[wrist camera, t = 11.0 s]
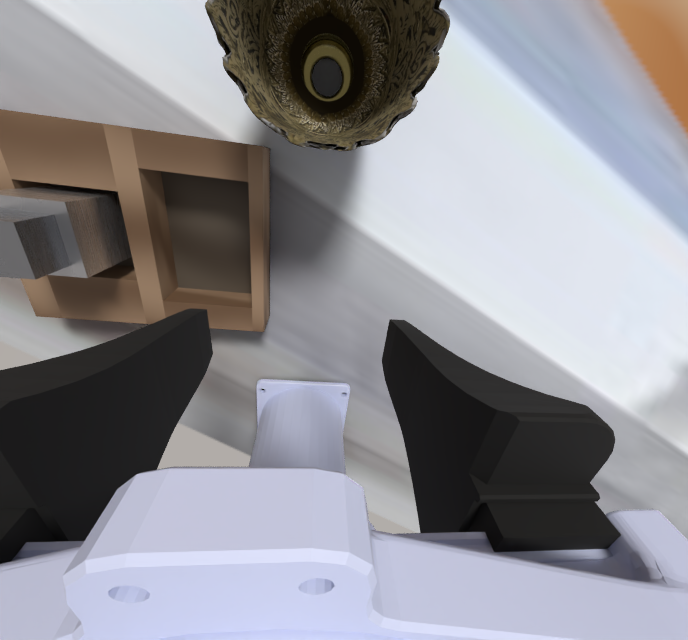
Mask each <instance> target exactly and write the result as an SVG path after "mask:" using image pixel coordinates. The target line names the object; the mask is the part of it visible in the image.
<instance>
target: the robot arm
mask: <svg viewBox="0 0 688 640" xmlns="http://www.w3.org/2000/svg"><path fill="white" fill-rule="evenodd" d="M212 355H213V351H212V343H211V336H210V329H209V321H208V314H207V309H193V308H190V309H186V310H183V311H181V312H178V313H176V314H173V315H171V316H169V317H167V318H164V319H162V320H160V321H157V322H155V323H153V324H151V325H148V326H146V327H144V328H141V329H139V330H136V331H134V332H131V333H129V334H126V335H124V336H121V337H119V338H117V339H114V340H111V341H108V342H106V343H103V344H100V345H97V346H94V347H91V348H87V349H84V350H81V351H78V352H74V353H71V354H67V355H63V356H59V357H56V358H52V359H48V360H44V361H40V362H36V363H33V364H28V365H24V366H19V367H14V368H9V369H5V370H0V640H688V540H687V539H686V538H685V537H684V536H683V535H682V534H681V533H680V532H679V531H678V530H677V528H676V527H675V526H674V525H673V524H672V523H671V522H670V521H669V520H668V519H667V518H666V517H665V516H664V515H663V514H662V513H661V512H660V511H658V510H654V509H639V510H616V511H612V512H610V513H608V514H606V515H605V514H604V513H603V512H602V510H601V509H600V508H599V507H598V505H597V504H596V503H595V502H594V501H598V500H599V499H600V496H599V493H598V492H597V491H596V490H595V489H594V487H593V486H592V485H591V484H590V482H591V480H592V479H593V478H594V476H595V475H596V474H597V473H598V471H599V470H600V469H601V467H602V466H603V465H604V464H605V462H606V461H607V460H608V458H609V456H610V455H611V453H612V451H613V448H614V443H615V436H614V432H613V430H612V429H611V428H610V427H609V426H608V424H607V423H605V422H604V421H603V420H602V419H601V418H600V417H599V416H598V415H597V414H596V413H594V412H593V411H592V410H591V409H590V408H589V407H588V406H586V405H583V404H579V403H576V402H572V401H568V400H565V399H561V398H558V397H554V396H551V395H547V394H544V393H541V392H538V391H535V390H532V389H529V388H526V387H523V386H521V385H518V384H515V383H513V382H510V381H508V380H505V379H503V378H501V377H498V376H496V375H494V374H491V373H489V372H487V371H485V370H483V369H481V368H479V367H477V366H475V365H473V364H471V363H469V362H467V361H465V360H464V359H462V358H460V357H458V356H457V355H455V354H453V353H452V352H450V351H449V350H447V349H445V348H444V347H442V346H441V345H439V344H438V343H437V342H435V341H434V340H432V339H431V338H429V337H428V336H427V335H425V334H424V333H423V332H421V331H420V330H418V329H417V328H416V327H414V326H413V325H411V324H410V323H408V322H407V321H405V320H390V321H389V326H388V331H387V337H386V342H385V347H384V352H383V357H382V364H383V371H384V376H385V381H386V384H387V387H388V391H389V394H390V397H391V400H392V403H393V406H394V409H395V412H396V415H397V418H398V421H399V424H400V427H401V430H402V434H403V438H404V443H405V447H406V452H407V457H408V462H409V467H410V472H411V477H412V483H413V488H414V494H415V500H416V506H417V512H418V518H419V525H420V532H421V533H410V534H409V533H407V534H391V533H386V532H381V531H376V530H375V528H374V526H373V525H372V524H371V523H370V522H369V518H368V510H367V503H366V499H365V494H364V490H363V487H362V486H360V485H359V484H357V483H356V482H355V481H353V480H352V479H350V478H349V477H348V476H346V471H345V458H344V445H343V429H344V424H345V418H346V412H347V406H348V400H349V394H350V386H349V385H348V384H346V383H331V382H311V381H291V380H271V379H260V380H258V382H257V385H256V392H257V435H256V439H255V443H254V447H253V451H252V455H251V459H250V463H249V467H170V468H164V469H158V470H157V467H158V465H159V463H160V460H161V458H162V455H163V453H164V451H165V448H166V446H167V444H168V442H169V439H170V437H171V434H172V433H173V431H174V428H175V427H176V425H177V423H178V421H179V419H180V418H181V416H182V414H183V412H184V411H185V409H186V407H187V405H188V404H189V402H190V400H191V398H192V397H193V395H194V393H195V392H196V390H197V388H198V386H199V384H200V383H201V381H202V379H203V377H204V375H205V373H206V371H207V368H208V366H209V363H210V360H211V357H212ZM261 389H265V390H261ZM343 392H345V394H342V393H343Z"/></svg>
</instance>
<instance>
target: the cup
mask: <svg viewBox="0 0 688 640" xmlns="http://www.w3.org/2000/svg"><path fill="white" fill-rule="evenodd" d="M440 2H441V0H208V1H207V2H206V5H205V8H206V11H207V14H208V16H209V18H210V21H211V23H212V25H213V28H214V30H215V32H216V35H217V39H218V42H219V44H220V45H221V47H222V48H223V49H224V50H225V53H226V55H225V56H224V57H222V58H223V66H224V69H225V71H226V72H227V74H228V75H229V76H230V78H231V79H232V80H233V81H234V82H235V83H236V84H237V85H238V87H239V88H240V90H241V92H242V94H243V96H244V101H245V102H246V104H247V105H248V107H249V108H250V110H251V111H252V112H253V113H254V115H255V116H256V117H257V118H258V119H259V120H260V121H262V122H263V123H264V124H265V125H267V126H268V127H269V128H271V129H272V130H274V131H275V132H276V133H278V134H280V135H282V136H283V137H285V139H286V140H287V141H289V142H291V143H293V144H295V145H298V146H301V147H313V148H319V149H322V150H338V151H349V150H353V149H356V148H357V147H360V146H364V145H369V144H373V143H376V142H378V141H380V140H382V139H383V138H385V137H386V136H387V135H388V134H389V133H390V132H391V130H392V128H393V127H394V125H395V124H396V123H397V122H398V121H399V120H400V119H402V118H405V117H406V116H407V115H409V114H410V113H411V112H412V111H413V110H414V109H415V107H416V104H417V102H418V101H417V99H416V98H415V96H416V94H417V93H419V92H420V91H421V90H422V89H423V88H424V87H425V85H426V83H427V81H428V80H429V78H430V77H431V76H432V74H433V73H434V71H435V70H436V68H437V66H438V63H439V56H438V55H439V52H438V51H439V50H440V48H441V47H442V45H443V43H444V40H445V38H446V35H447V33H448V30H449V26H450V19H449V16H448V14H447V13H446V12H445V10H443V9H441V8H439V5H440ZM437 52H438V53H437ZM322 58H330V59H333V60H334V61H335V62H336V63H337V64H338V65H339V67H340V69H341V72H342V84H341V87H340V89H339V91H338V92H337V93H336V94H335V95H333V96H329V97H326V96H323V95H321V94H319V93H318V92H317V91H316V89H315V88H314V85H313V82H312V71H313V68H314V66H315V64H316V63H317V62H318V61H319V60H320V59H322Z"/></svg>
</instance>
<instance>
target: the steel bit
mask: <svg viewBox="0 0 688 640" xmlns="http://www.w3.org/2000/svg"><path fill="white" fill-rule="evenodd" d="M130 257H132V254H131V250H130V245H129V241H128V236H127V232H126V227H125V223H124V218H123V213H122V209H121V204H120V200H119V195H118V191H109V190H101V189H92V188H84V187H75V186H67V185H57V186H44V187H32V188H19V189H6V190H0V277H10V278H22V279H35V280H36V279H38V278H41V277H43V276H46V275H56V276H68V277H80V278H89V277H91V276H93V275H95V274H97V273H99V272H101V271H103V270H105V269H107V268H110V267H112V266H114V265H116V264H118V263H120V262H122V261H124V260H126V259H128V258H130Z"/></svg>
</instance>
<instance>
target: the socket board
mask: <svg viewBox="0 0 688 640" xmlns="http://www.w3.org/2000/svg"><path fill="white" fill-rule="evenodd" d="M57 185H67V186H75V187H84V188H92V189H101V190H109V191H118V195H119V200H120V204H121V209H122V213H123V218H124V223H125V227H126V232H127V236H128V241H129V245H130V250H131V254H132V257H130V258H128V259H126V260H124V261H122V262H120V263H118V264H116V265H114V266H112V267H110V268H107V269H105V270H103V271H101V272H99V273H97V274H95V275H93V276H91V277H89V278H80V277H68V276H56V275H46V276H43V277H41V278H38V279H36V280H35V279H22V278H21V280H22V283H23V285H24V288H25V290H26V293H27V295H28V297H29V300H30V302H31V305H32V307H33V309H34V312H35V314H36V316H40V317H55V318H69V319H84V320H98V321H113V322H127V323H142V324H153V323H155V322H157V321H160V320H162V319H164V318H167V317H169V316H171V315H173V314H176V313H178V312H181V311H183V310H186V309H190V308H193V309H207V314H208V321H209V328H214V329H229V330H243V331H258V332H264V330H265V327H266V324H267V322H268V319H269V316H270V149H269V148H266V147H263V146H257V145H250V144H242V143H235V142H228V141H221V140H214V139H207V138H200V137H193V136H186V135H179V134H172V133H164V132H157V131H150V130H143V129H136V128H129V127H122V126H115V125H108V124H101V123H94V122H86V121H79V120H72V119H65V118H58V117H51V116H44V115H37V114H30V113H23V112H16V111H9V110H1V109H0V190H6V189H19V188H32V187H44V186H57Z"/></svg>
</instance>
